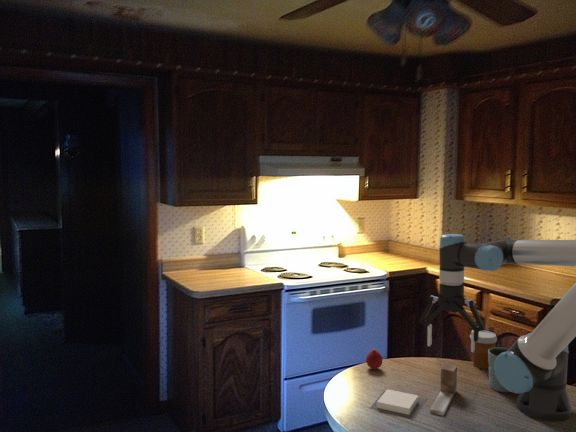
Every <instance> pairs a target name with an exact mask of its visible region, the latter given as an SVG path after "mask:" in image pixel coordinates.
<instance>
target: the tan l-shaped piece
mask: <svg viewBox="0 0 576 432" xmlns="http://www.w3.org/2000/svg"><path fill="white" fill-rule="evenodd" d="M457 375H458V365H455V364H449V363H444V364H443V365H442V366H441V368H440V391H439V393H438V394H437V397H436V398H435V400H434V402H433V403H432V405H431V406H430V409H429V413H430V414H432V415H433V414H435V415H438V416H444V415H445V414H446V412H447V410H448V408H449V405H450V404H451V403H452V400H453V399H454V396H455V394H456V393H457V383H458V380H457V377H458V376H457Z"/></svg>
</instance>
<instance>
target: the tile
mask: <svg viewBox="0 0 576 432" xmlns="http://www.w3.org/2000/svg"><path fill="white" fill-rule="evenodd" d="M384 391H385V393H384V394H383V395H382V396H381V397H380V399H379V400H378V401H377V408H379V409H384V410H389V411H393V412H398V413H402V414H407V415H410V413H411V412H412V410H413V409H414V407H415V405H416V404H417V402H418V398H419V395H417V394H412V393H408V392H402V391H398V390H397V391H396V390H394V389H393V390H392V389H388V388H386V390H384Z"/></svg>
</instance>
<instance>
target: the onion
mask: <svg viewBox="0 0 576 432" xmlns="http://www.w3.org/2000/svg"><path fill="white" fill-rule="evenodd" d="M365 362H366V364H367V366H368V367H369V368H370V369H371V370H373V371H375V370H378V369H379V368H380V367H381V366H382V365H383V356H382V355H381V353H380V352H378V351H377V350H376V349H375V348H372V349H371V351H370V352H368V354H367V355H366V357H365Z"/></svg>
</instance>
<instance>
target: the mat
mask: <svg viewBox="0 0 576 432" xmlns="http://www.w3.org/2000/svg"><path fill="white" fill-rule="evenodd" d="M385 391H386V390H383V392H382V393H381V394H380V395H379V396H378V397H377V399H376V400H375V401H374V402H373V403H372V405H371V406H370V407H369V409H372V410H376V411H380V412H385V413H388V414H394V415H399V416H403V417H407V418H413V419H416V418H417V416H418V415H419V413H420V411H421V409H422V408H423V406H424V405H425V404H426V402H427V400H428V399H425V398H423V397H418V402H417V404H416V405H415V407H414V409H413V410H412V412H411V413H410V415H407V414H402V413H398V412H393V411H389V410H384V409H379V408H377V401H378V400H379V399H380V397H381V396H382V395H383V394H384V393H385Z"/></svg>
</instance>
